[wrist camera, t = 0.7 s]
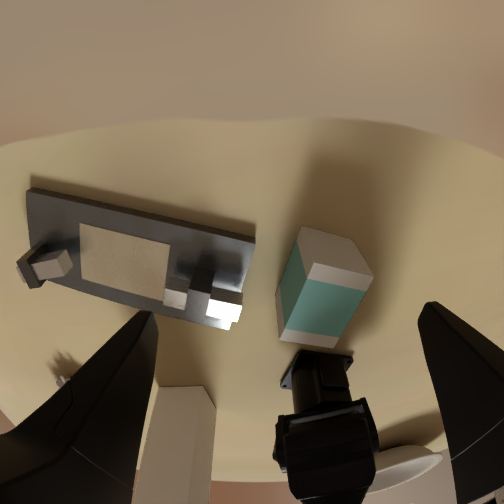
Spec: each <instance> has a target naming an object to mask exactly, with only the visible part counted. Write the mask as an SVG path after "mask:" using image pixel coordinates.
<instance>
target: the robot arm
mask: <svg viewBox="0 0 504 504" xmlns="http://www.w3.org/2000/svg"><path fill="white" fill-rule="evenodd" d="M418 329H419V333H420V337H421V341H422V345H423V350H424V355H425V359H426V363H427V366H428V370H429V373H430V376H431V379H432V383H433V386H434V390H435V393H436V397H437V401H438V404H439V408H440V412H441V416H442V420H443V424H444V429H445V433H446V438H447V442H448V447H449V452H450V457H451V464H452V470H453V475H454V482H455V490H456V498H457V504H468V503H470V502H473V501H475V500H477V499H479V498H482V497H484V496H486V495H488V494H490V493H492V492H494V495H495V496H494V497H493V498H491V499H490V500H488V501H487V502H485V503H483V504H504V351H503V350H502V349H501V348H499V347H498V346H497V345H495V344H494V343H493V342H492V341H490V340H489V339H488V338H486V337H485V336H484V335H482V334H481V333H480V332H478V331H477V330H476V329H474V328H473V327H472V326H470V325H469V324H468V323H466V322H465V321H463V320H462V319H461V318H459V317H458V316H456V315H455V314H454V313H452V312H451V311H450V310H448V309H447V308H445V307H444V306H442V305H441V304H440V303H438V302H436V301H433V302H427V303H426V304H425V305H424V307H423V309H422V312H421V314H420V316H419V318H418ZM158 336H159V331H158V327H157V323H156V320H155V317H154V314H153V312H152V311H148V310H140V311H138V312H137V313H136V314H135V315H134V316H133V317H132V318H131V319H130V320H129V321H128V322H127V323H126V324H125V325H124V326H123V327H122V328H121V329H120V330H118V331H117V332H116V333H115V334H114V335H113V336H112V337H111V338H110V339H109V340H108V341H107V342H106V343H105V344H104V345H103V346H102V347H101V348H100V349H99V350H98V351H97V352H96V353H95V354H94V355H93V356H92V357H91V358H90V359H89V360H88V361H87V362H86V363H85V364H84V365H83V366H82V367H81V368H80V369H79V370H78V371H77V372H76V373H75V374H74V375H73V376H72V377H71V378H70V380H68V381H67V382H66V383H65V384H64V385H63V386H62V387H61V388H60V389H59V390H58V391H57V392H56V393H55V394H54V395H53V396H52V397H50V398H49V399H48V400H47V401H46V402H45V403H44V404H43V405H41V406H40V407H39V408H38V409H37V410H36V411H34V412H33V413H32V414H31V415H30V416H28V417H27V418H26V419H25V420H24V421H22V422H21V423H20V424H19V425H18V426H17V427H15V428H14V429H13V430H11V431H9V432H7V433H4V434H1V435H0V504H131V501H132V493H133V490H132V489H133V486H134V479H135V473H136V467H137V460H138V455H139V449H140V443H141V438H142V432H143V427H144V422H145V417H146V412H147V407H148V402H149V398H150V393H151V388H152V384H153V379H154V371H155V362H156V353H157V344H158ZM352 363H353V357H351V356H344V355H335V354H327V353H319V352H312V351H305V350H302V351H299V352H298V353H297V355H296V357H295V359H294V360H293V362H292V364H291V366H290V367H289V369H288V371H287V373H286V374H285V376H284V378H283V380H282V381H281V383H280V387H281V388H282V389H290V390H292V394H293V404H294V414H290V415H279V416H278V422H277V424H276V425H275V427H276V440H275V445H274V450H273V459H274V460H275V461H277V462H278V464H279V466H280V469H281V471H282V473H287V476H288V482H289V488H290V491H291V493H292V494H293V495H294V497H295V498H296V499H297V500H300V501H301V502H302V503H303V504H361V503H362V501H363V499H364V497H365V495H366V493H367V491H368V489H369V487H370V486H371V485H372V483H373V480H374V478H375V475H376V465H375V458H374V455H375V454H378V453H379V439H378V433H377V429H376V426H375V422H374V420H373V417H372V414H371V412H370V409H369V406H368V404H367V401H366V398H365V397H363V398H360V399H359V400H355V401H352V398H351V394H350V390H349V382H348V378H347V374H346V371H347V370H348V368H349V367H350V366H351V364H352Z"/></svg>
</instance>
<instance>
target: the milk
mask: <svg viewBox="0 0 504 504" xmlns="http://www.w3.org/2000/svg"><path fill="white" fill-rule="evenodd" d="M216 414H217V410H216V408H215V406H214V405H213V403H212V401H211V399H210V398H209V396H208V394H207V392H206V390H205V389H204V387H203V386H190V387H159V388H158V392H157V396H156V400H155V404H154V408H153V412H152V416H151V420H150V424H149V429H148V433H147V437H146V442H145V446H144V451H143V455H142V460H141V464H140V469H139V474H138V479H137V484H136V490H135V494H134V500H133V504H209V497H210V483H211V472H212V459H213V447H214V436H215V425H216Z"/></svg>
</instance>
